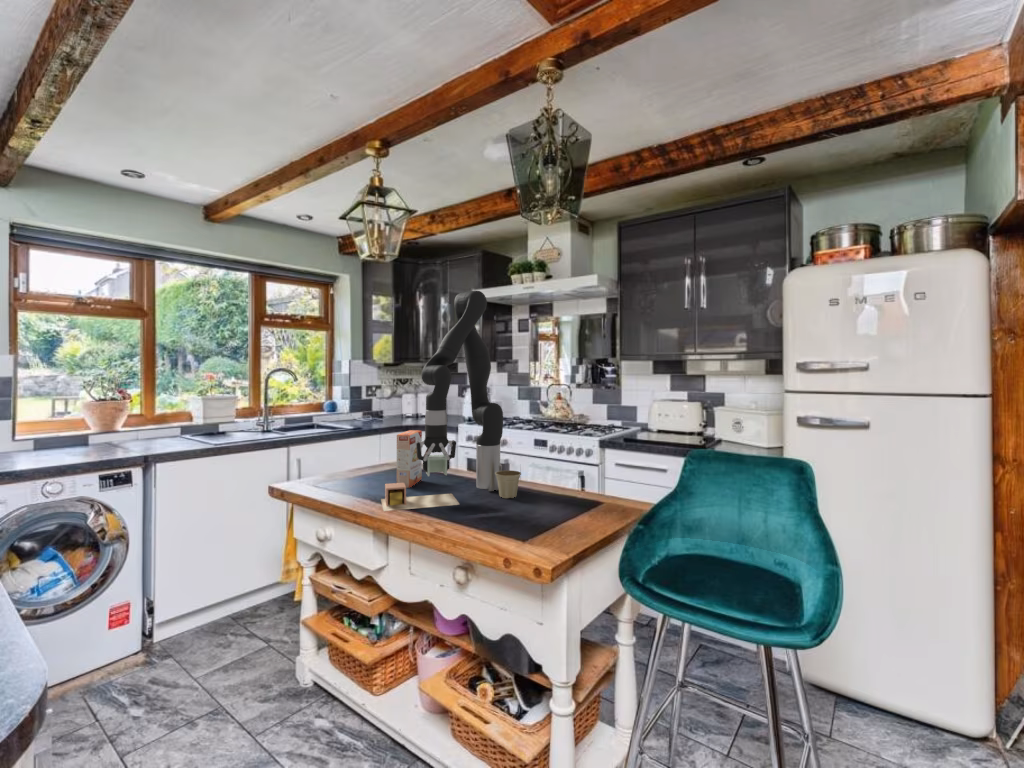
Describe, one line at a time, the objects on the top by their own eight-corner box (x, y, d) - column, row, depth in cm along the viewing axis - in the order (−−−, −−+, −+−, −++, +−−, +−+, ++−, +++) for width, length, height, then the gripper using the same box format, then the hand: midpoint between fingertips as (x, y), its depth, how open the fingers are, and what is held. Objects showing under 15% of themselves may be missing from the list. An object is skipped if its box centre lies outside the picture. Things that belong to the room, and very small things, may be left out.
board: (451, 496, 188) (451, 493, 188) (460, 507, 173) (460, 504, 173) (380, 501, 180) (380, 499, 180) (383, 514, 166) (383, 511, 166)
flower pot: (522, 493, 192) (522, 470, 191) (520, 500, 182) (520, 476, 182) (497, 492, 192) (497, 469, 192) (493, 499, 183) (493, 475, 183)
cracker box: (410, 489, 198) (410, 434, 197) (395, 488, 199) (395, 434, 198) (422, 480, 212) (422, 429, 211) (408, 480, 213) (408, 429, 212)
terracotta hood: (404, 499, 179) (403, 482, 179) (406, 504, 173) (405, 486, 173) (385, 501, 177) (385, 483, 177) (386, 506, 171) (386, 488, 171)
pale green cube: (443, 471, 183) (443, 454, 183) (446, 475, 177) (447, 457, 177) (425, 472, 181) (425, 455, 181) (428, 476, 175) (428, 458, 175)
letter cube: (401, 501, 178) (400, 489, 177) (402, 504, 174) (402, 492, 174) (389, 502, 176) (388, 490, 176) (390, 505, 172) (389, 492, 172)
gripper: (454, 421, 184) (454, 467, 185) (413, 422, 180) (413, 470, 180) (458, 423, 177) (458, 472, 178) (416, 424, 173) (416, 474, 173)
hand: (436, 470), depth 179 cm, fingers closed on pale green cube, 6 cm apart
